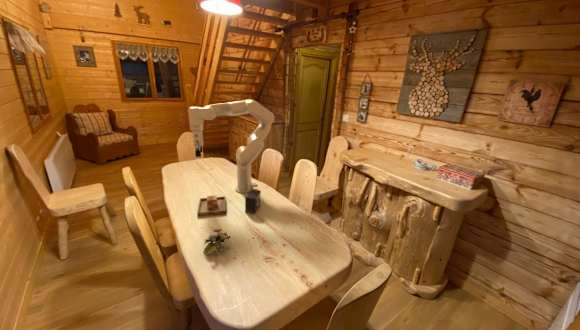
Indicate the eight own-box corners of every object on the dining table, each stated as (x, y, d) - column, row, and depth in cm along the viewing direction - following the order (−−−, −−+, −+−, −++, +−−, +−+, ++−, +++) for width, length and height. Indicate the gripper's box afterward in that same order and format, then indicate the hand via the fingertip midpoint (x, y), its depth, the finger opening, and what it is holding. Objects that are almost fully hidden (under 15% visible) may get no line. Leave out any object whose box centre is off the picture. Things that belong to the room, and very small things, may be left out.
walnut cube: (217, 203, 147) (216, 195, 145) (217, 207, 142) (216, 199, 140) (207, 204, 146) (207, 196, 144) (207, 208, 141) (206, 200, 139)
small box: (255, 214, 140) (255, 198, 136) (244, 212, 141) (244, 197, 137) (261, 205, 150) (261, 190, 146) (251, 204, 151) (251, 189, 147)
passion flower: (219, 253, 116) (230, 230, 117) (225, 264, 106) (237, 239, 108) (197, 247, 110) (210, 223, 111) (201, 258, 101) (215, 232, 102)
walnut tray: (225, 199, 154) (225, 196, 154) (225, 214, 139) (225, 210, 138) (200, 201, 150) (199, 198, 150) (197, 216, 135) (197, 213, 134)
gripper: (202, 130, 137) (204, 158, 143) (204, 124, 153) (206, 150, 159) (188, 130, 135) (191, 159, 141) (191, 124, 151) (194, 150, 157)
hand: (199, 154), depth 150 cm, fingers open, 9 cm apart
